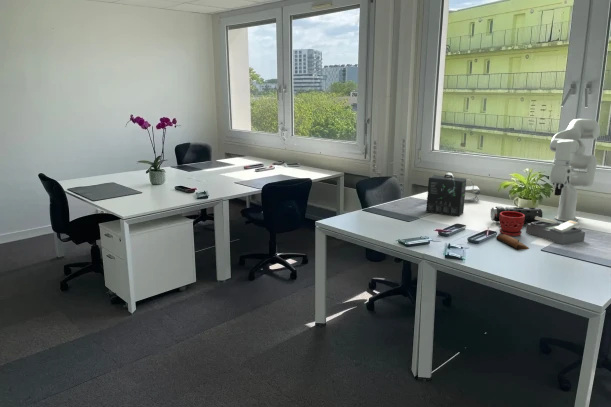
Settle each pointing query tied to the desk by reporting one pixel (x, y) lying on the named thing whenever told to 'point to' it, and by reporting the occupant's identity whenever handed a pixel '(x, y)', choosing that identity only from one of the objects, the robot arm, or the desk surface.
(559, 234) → the panel
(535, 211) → the muzzle brake
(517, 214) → the plant pot
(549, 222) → the plate
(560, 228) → the rocker
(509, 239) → the brown pointed cylinder
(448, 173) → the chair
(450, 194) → the headset box
